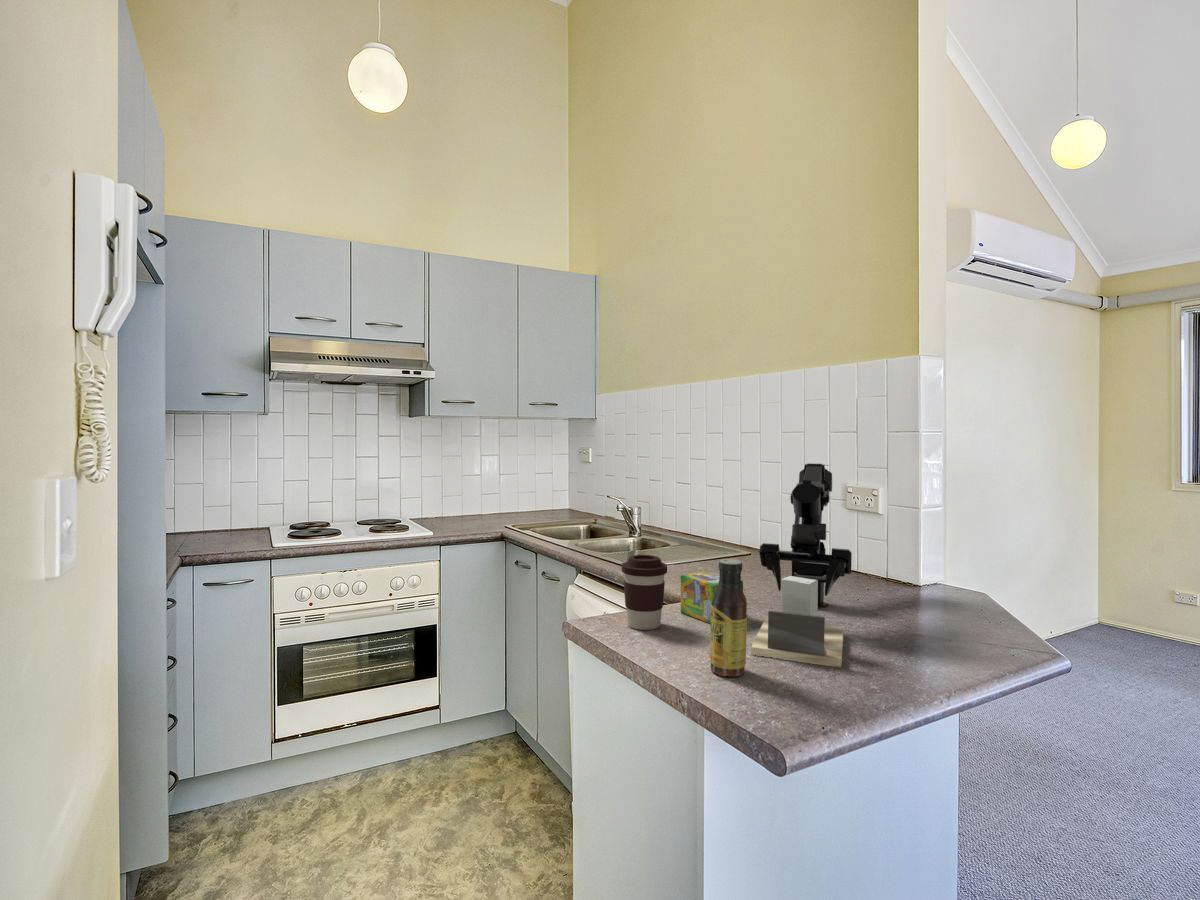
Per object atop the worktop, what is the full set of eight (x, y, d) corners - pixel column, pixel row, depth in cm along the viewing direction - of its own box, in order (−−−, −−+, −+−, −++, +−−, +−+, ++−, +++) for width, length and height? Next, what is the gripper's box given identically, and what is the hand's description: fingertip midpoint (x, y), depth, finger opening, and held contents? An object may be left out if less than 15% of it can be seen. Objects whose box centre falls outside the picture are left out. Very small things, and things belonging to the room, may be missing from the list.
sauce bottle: (705, 665, 111) (707, 556, 111) (739, 664, 112) (740, 556, 111) (715, 680, 105) (716, 564, 104) (751, 679, 105) (752, 564, 105)
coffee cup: (653, 635, 128) (654, 564, 127) (612, 627, 133) (613, 558, 133) (674, 623, 136) (674, 556, 136) (634, 616, 141) (635, 551, 141)
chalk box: (679, 574, 144) (724, 587, 131) (708, 570, 149) (754, 582, 136) (679, 614, 144) (724, 630, 132) (708, 608, 149) (754, 623, 136)
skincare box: (818, 640, 121) (819, 579, 121) (809, 645, 118) (810, 583, 118) (788, 633, 125) (789, 575, 125) (779, 638, 122) (780, 578, 122)
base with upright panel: (765, 624, 136) (765, 586, 135) (843, 634, 129) (844, 594, 129) (751, 654, 117) (751, 610, 117) (841, 667, 111) (842, 621, 111)
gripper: (761, 506, 136) (752, 566, 126) (852, 511, 129) (851, 575, 119) (765, 536, 144) (757, 595, 134) (851, 542, 136) (850, 604, 127)
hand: (802, 592), depth 128 cm, fingers open, 9 cm apart
